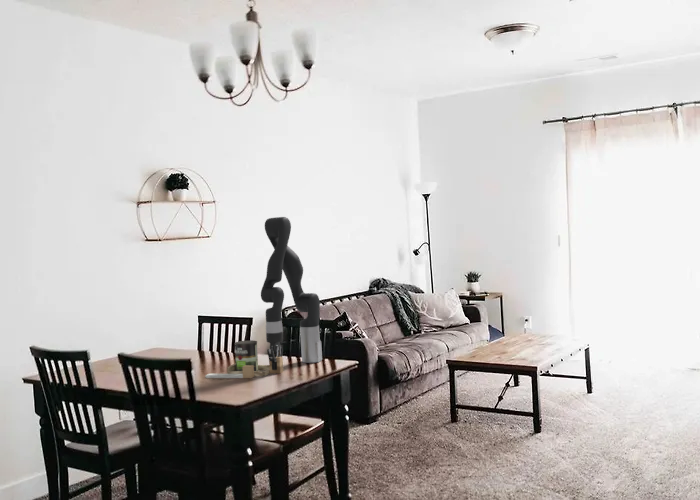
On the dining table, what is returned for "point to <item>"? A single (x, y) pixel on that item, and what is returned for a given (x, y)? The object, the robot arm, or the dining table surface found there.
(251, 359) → the coffee can
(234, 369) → the frame
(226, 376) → the empty strip
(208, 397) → the dining table surface
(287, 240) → the robot arm
